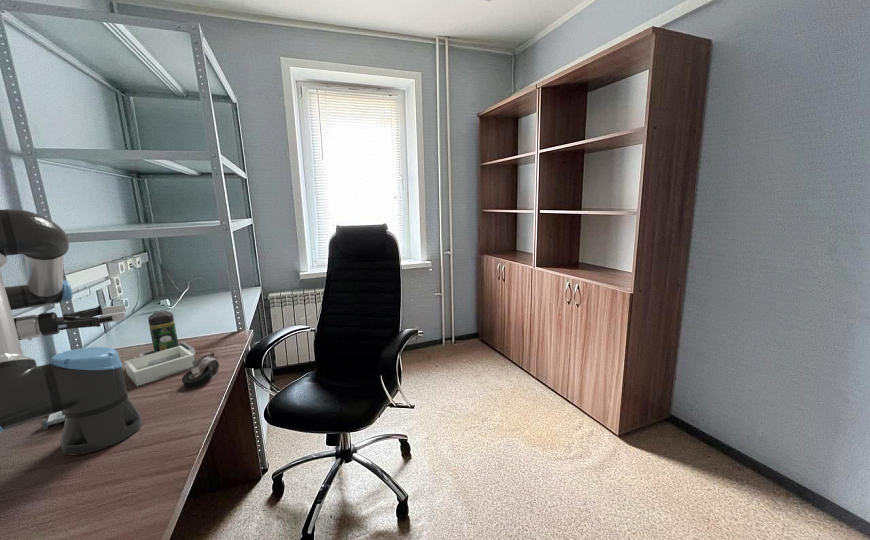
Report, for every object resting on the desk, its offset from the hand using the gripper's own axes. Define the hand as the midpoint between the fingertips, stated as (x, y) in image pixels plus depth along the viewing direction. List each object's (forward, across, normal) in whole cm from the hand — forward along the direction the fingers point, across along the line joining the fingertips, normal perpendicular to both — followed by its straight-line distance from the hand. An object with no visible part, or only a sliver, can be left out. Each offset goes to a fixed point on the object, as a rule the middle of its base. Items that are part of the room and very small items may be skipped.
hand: (125, 311), depth 127 cm
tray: (+7, +14, -21) cm, 26 cm away
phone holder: (-14, +30, -21) cm, 40 cm away
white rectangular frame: (+10, +1, -21) cm, 23 cm away
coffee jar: (+10, +1, -21) cm, 24 cm away
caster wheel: (+17, +35, -21) cm, 44 cm away
